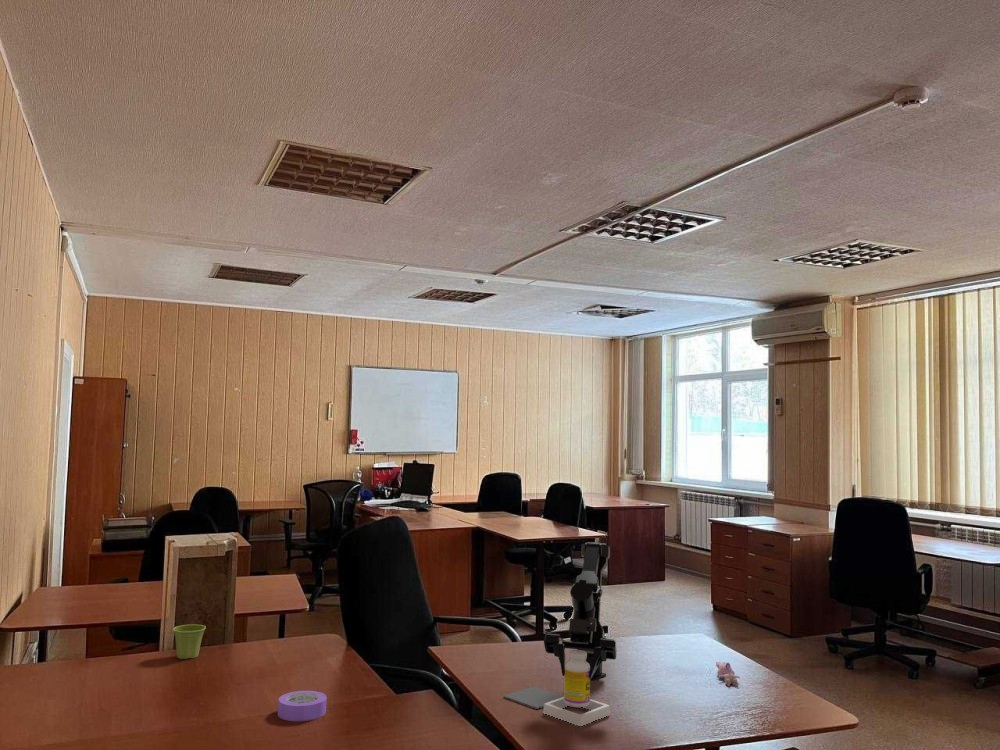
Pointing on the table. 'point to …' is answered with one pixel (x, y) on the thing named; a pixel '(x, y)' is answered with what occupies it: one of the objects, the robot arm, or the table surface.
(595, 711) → the holder
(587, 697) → the supplement bottle
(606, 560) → the robot arm
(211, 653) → the table surface
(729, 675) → the pink plastic figurine
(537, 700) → the mat
